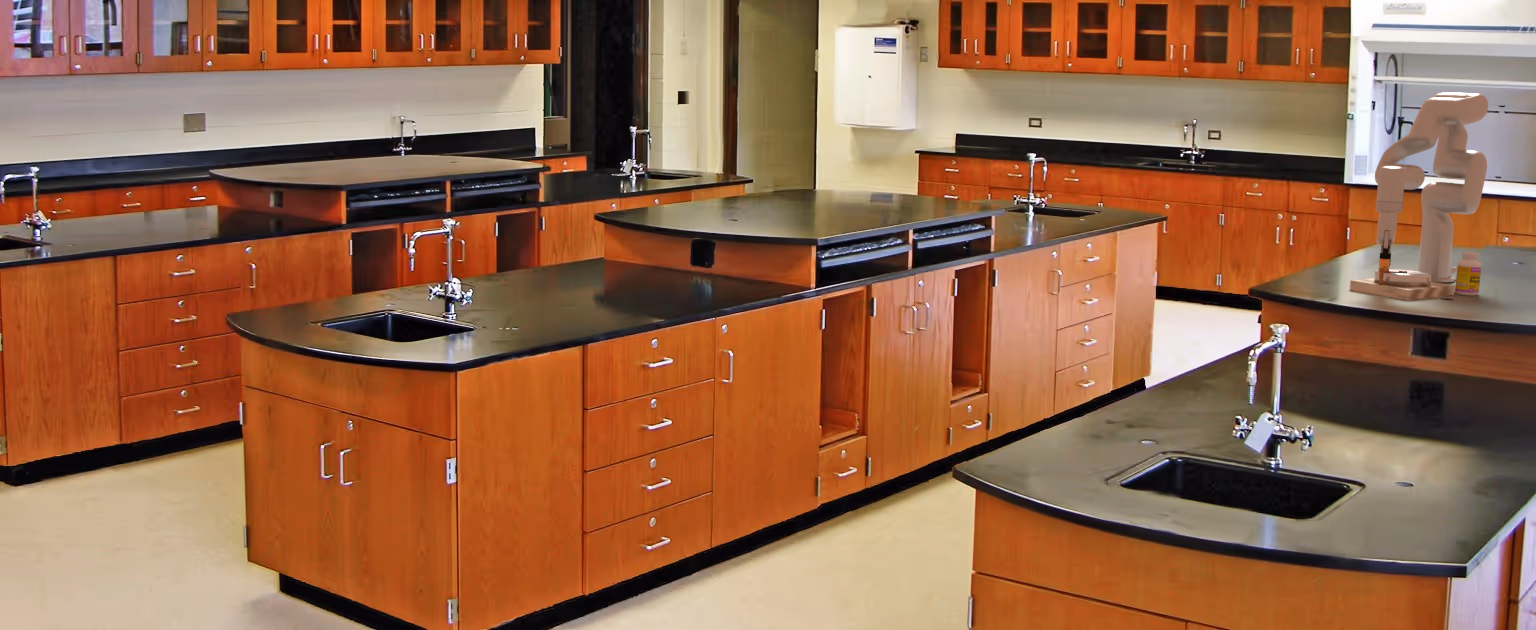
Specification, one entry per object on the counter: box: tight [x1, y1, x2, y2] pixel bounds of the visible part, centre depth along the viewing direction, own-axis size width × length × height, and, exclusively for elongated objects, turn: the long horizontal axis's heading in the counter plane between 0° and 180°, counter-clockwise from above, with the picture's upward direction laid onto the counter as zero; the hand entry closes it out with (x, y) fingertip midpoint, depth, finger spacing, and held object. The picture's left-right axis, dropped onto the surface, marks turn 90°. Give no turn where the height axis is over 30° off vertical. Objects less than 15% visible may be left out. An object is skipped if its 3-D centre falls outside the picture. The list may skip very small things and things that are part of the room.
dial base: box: [1349, 268, 1455, 301], centre depth 475 cm, size 21×21×8 cm
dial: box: [1373, 257, 1431, 287], centre depth 474 cm, size 16×16×7 cm
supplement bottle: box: [1454, 251, 1482, 297], centre depth 473 cm, size 7×7×13 cm
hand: (1384, 265), depth 479 cm, fingers closed
